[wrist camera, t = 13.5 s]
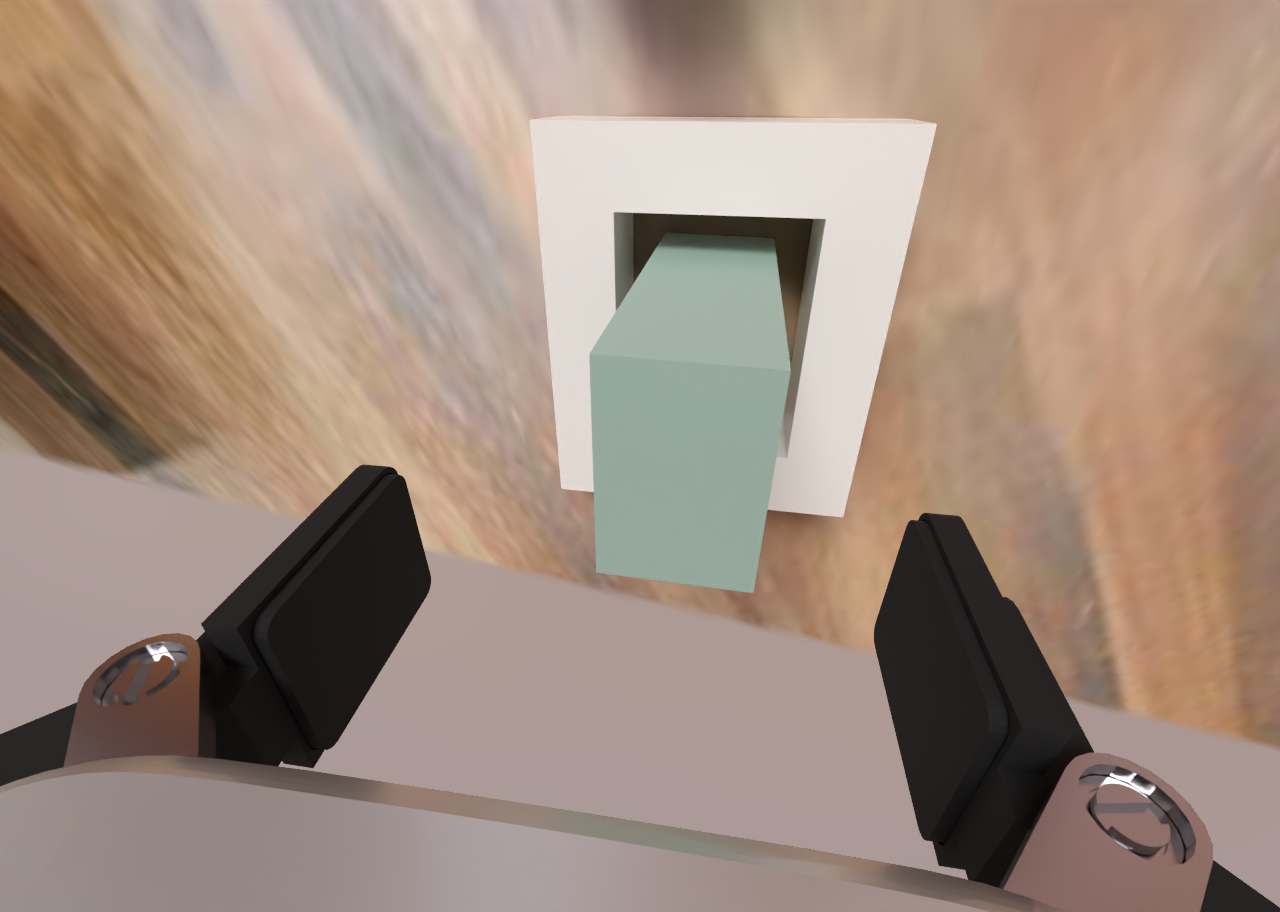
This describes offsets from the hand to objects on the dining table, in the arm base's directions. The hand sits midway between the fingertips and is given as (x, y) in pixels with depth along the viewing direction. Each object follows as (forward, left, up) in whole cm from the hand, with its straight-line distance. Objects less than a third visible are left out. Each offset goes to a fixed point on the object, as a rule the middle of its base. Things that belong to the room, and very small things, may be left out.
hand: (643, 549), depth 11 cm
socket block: (0, 0, -15) cm, 14 cm away
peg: (0, 0, -15) cm, 15 cm away
